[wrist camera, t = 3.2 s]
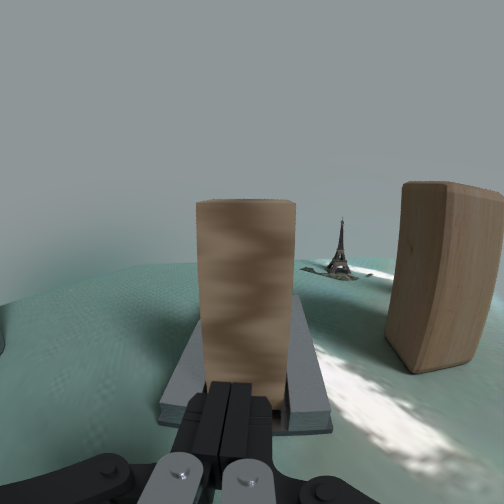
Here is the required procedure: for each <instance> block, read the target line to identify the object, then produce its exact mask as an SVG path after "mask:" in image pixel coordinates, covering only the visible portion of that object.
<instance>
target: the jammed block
mask: <svg viewBox="0 0 504 504" xmlns="http://www.w3.org/2000/svg"><path fill="white" fill-rule="evenodd" d="M295 217H296V203H294V202H291V201H289V200H273V199H271V200H270V199H212V200H207V201H202V202H198V203H196V225H197V226H196V227H197V260H198V283H199V301H200V316H201V330H202V343H203V354H204V365H205V375H206V385H207V393H208V392H209V388H210V384H211V382H212V381H222V382H232V383H233V382H242V383H252V396H266V397H267V399H268V400H269V402H270V403H271V405H272V410H283V401H284V391H285V381H286V371H287V359H288V348H289V335H290V321H291V306H292V290H293V271H294V249H295V220H296V218H295Z"/></svg>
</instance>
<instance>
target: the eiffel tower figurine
mask: <svg viewBox="0 0 504 504" xmlns="http://www.w3.org/2000/svg"><path fill="white" fill-rule="evenodd" d="M343 224H344V222H343V220H342V221H341V231H340V238H339V244H338V249H337V252H336V254H335V257H334V258H333V259H332V261H331V263H330V264H329V265H328V266H327V267H326V268H325V269H326V270H327V272H328V273H316V272H315V271H314V270H313V268H307V267H305V268H301V269H302V270H306V271H309V272H312V273H316V274H320V275H324V276H327V277H331V278H334V279H337V280H343V281H348V280H352V281H353V280H357V279H358V278H357V277H354V276H349V275H352V274H351V272H350V269H349V267H348V265H347V260H345V255H344V249H343ZM340 254H341V258H339V256H340ZM332 265H333V267H332ZM338 266H343V268H337V267H338ZM331 267H332V268H331ZM371 275H373V274H368V275H367V276H366V277H369V276H371Z"/></svg>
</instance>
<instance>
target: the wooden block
mask: <svg viewBox="0 0 504 504" xmlns="http://www.w3.org/2000/svg"><path fill="white" fill-rule="evenodd" d="M401 199H402V200H401V217H400V231H399V242H398V251H397V259H396V267H395V274H394V281H393V288H392V294H391V299H390V305H389V310H388V315H387V320H386V325H385V330H384V333H385V337H386V338H387V340H388V341H389V343H390V344H391V345H392V347H393V348H394V350H395V351H396V352H397V354H398V355H399V357H400V358H401V359H402V361H403V362H404V364H405V365H406V366H407V368H408V369H409V371H410V372H412V373H416V374H419V373H424V372H429V371H434V370H439V369H444V368H448V367H452V366H457V365H461V364H465V363H468V362H469V361H471V359H472V358H473V357H474V354H475V352H476V349H477V346H478V343H479V340H480V338H481V335H482V331H483V328H484V325H485V322H486V319H487V315H488V312H489V308H490V304H491V300H492V296H493V292H494V288H495V283H496V278H497V273H498V267H499V262H500V256H501V249H502V242H503V233H504V196H503V195H501V194H500V193H499V192H495V191H491V190H487V189H482V188H477V187H473V186H468V185H463V184H459V183H453V182H445V181H444V182H443V181H441V182H440V181H410V182H407V183H405V184H403V187H402V198H401Z"/></svg>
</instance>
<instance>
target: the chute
mask: <svg viewBox="0 0 504 504" xmlns="http://www.w3.org/2000/svg"><path fill="white" fill-rule="evenodd" d="M197 392H198V393H207V385H206V375H205V365H204V354H203V343H202V330H201V317H200V319H199V321H198V323H197V325H196V327H195V329H194V331H193V333H192V335H191V337H190V339H189V341H188V343H187V345H186V347H185V350H184V352H183V354H182V356H181V358H180V360H179V362H178V364H177V366H176V368H175V370H174V372H173V374H172V377H171V379H170V381H169V383H168V385H167V387H166V389H165V391H164V393H163V396H162V398H161V400H160V402H159V403H160V407H161V414H160V416H159V418H158V423H159V425H162V426H168V427H174V428H179V427H180V424H181V421H182V418H183V415H184V413H185V410H186V407H187V404H188V401H189V400H190V399H191V398H192V397H193V396H194V395H195V394H196V393H197ZM330 413H331V408H330V404H329V400H328V396H327V393H326V389H325V385H324V381H323V378H322V374H321V370H320V367H319V363H318V360H317V356H316V352H315V349H314V345H313V342H312V338H311V335H310V331H309V328H308V324H307V321H306V318H305V314H304V311H303V307H302V304H301V301H300V297H299V295H292V306H291V321H290V335H289V348H288V359H287V371H286V381H285V391H284V401H283V410H272V436H293V435H314V434H327V433H332V431H333V425H332V421H331V417H330Z"/></svg>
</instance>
